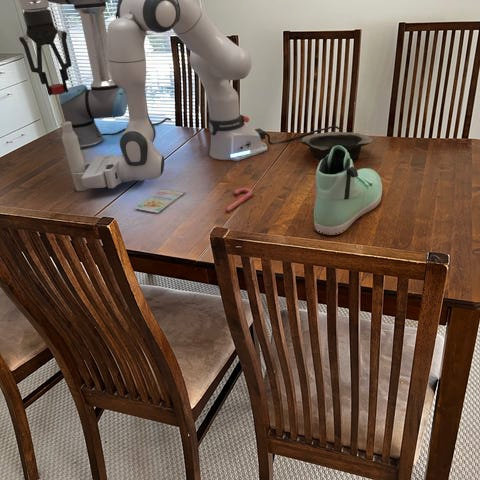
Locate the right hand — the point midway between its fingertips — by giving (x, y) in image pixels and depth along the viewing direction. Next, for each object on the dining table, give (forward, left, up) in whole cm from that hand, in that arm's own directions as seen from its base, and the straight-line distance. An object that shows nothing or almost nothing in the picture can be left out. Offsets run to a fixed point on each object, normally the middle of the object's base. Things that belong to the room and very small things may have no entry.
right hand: (75, 171), depth 162 cm
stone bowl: (-86, +28, -6) cm, 90 cm away
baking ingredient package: (-21, +26, -6) cm, 33 cm away
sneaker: (-67, +61, -6) cm, 91 cm away
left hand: (-1, 0, +26) cm, 26 cm away
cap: (-1, 0, +28) cm, 28 cm away
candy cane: (-41, +40, -6) cm, 57 cm away
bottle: (-1, 0, -6) cm, 6 cm away
